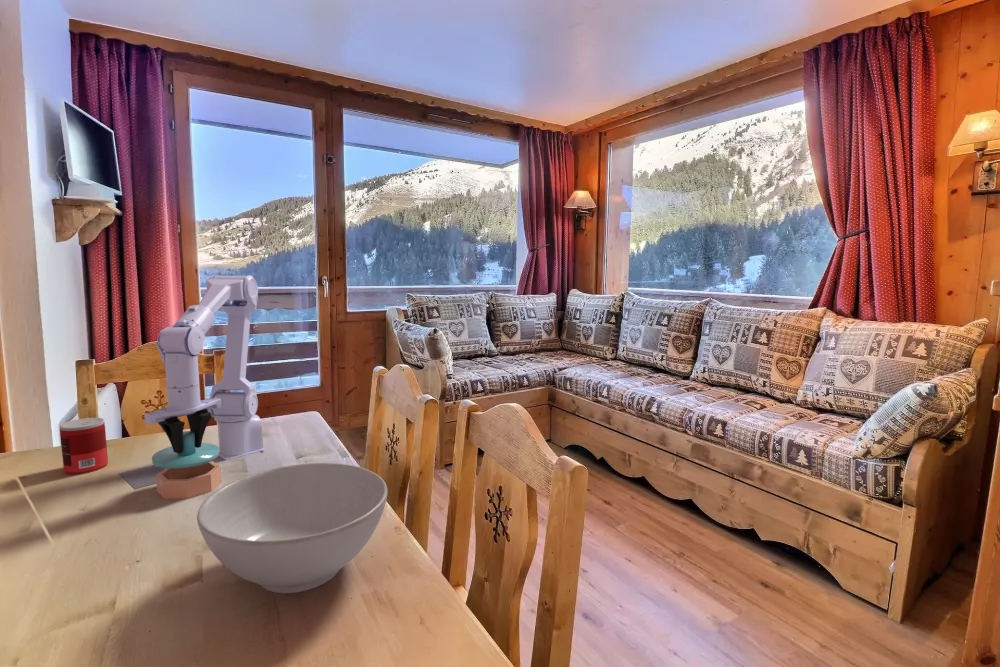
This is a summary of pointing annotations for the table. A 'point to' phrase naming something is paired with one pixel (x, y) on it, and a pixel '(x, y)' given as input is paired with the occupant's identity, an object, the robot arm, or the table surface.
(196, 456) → the lid
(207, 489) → the ramekin
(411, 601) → the table surface
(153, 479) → the mat
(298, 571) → the decorative bowl
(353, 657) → the table surface
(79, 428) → the canned food
